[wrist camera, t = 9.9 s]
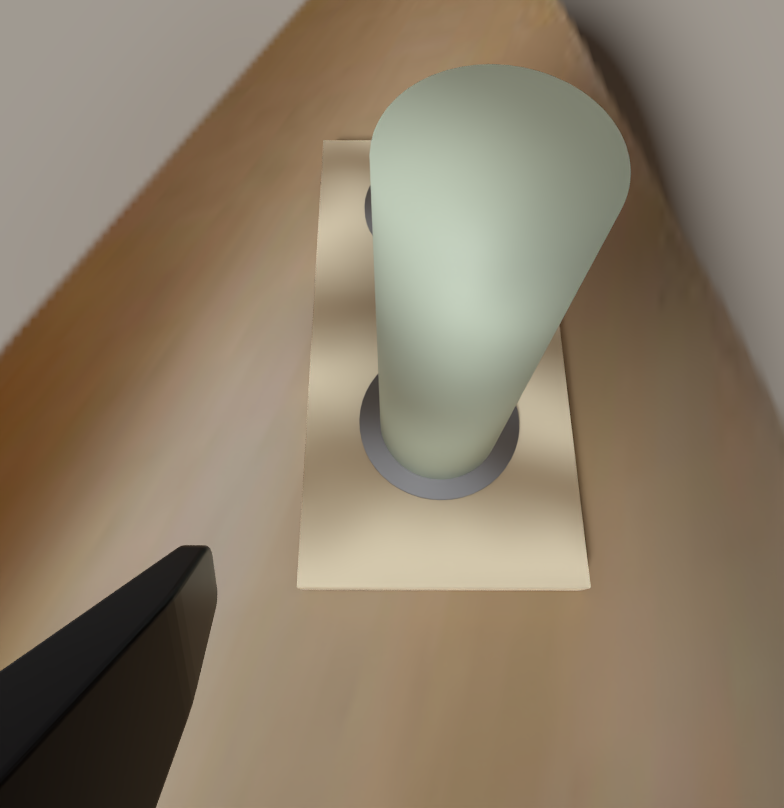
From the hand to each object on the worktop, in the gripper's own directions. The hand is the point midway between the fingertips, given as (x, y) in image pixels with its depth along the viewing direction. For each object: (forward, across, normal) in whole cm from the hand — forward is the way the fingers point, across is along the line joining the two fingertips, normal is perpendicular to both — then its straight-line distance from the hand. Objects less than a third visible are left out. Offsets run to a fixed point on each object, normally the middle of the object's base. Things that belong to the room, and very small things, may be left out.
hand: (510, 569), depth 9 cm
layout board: (+17, 0, +2) cm, 17 cm away
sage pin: (+13, 0, +3) cm, 13 cm away
